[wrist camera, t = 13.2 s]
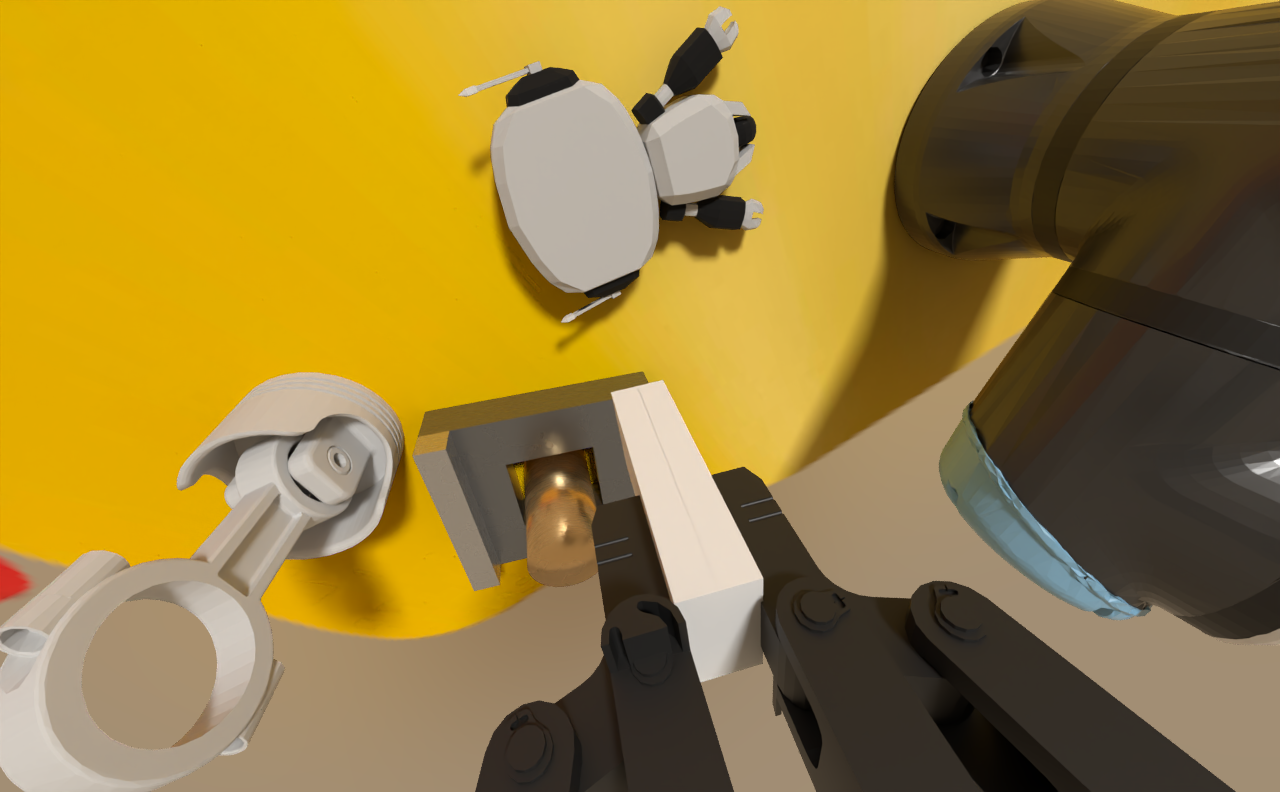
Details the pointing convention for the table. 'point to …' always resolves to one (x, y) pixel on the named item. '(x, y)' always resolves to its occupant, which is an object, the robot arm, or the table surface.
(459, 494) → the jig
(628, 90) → the table surface
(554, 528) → the copper cylinder rod
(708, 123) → the robot toy
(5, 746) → the engine component
